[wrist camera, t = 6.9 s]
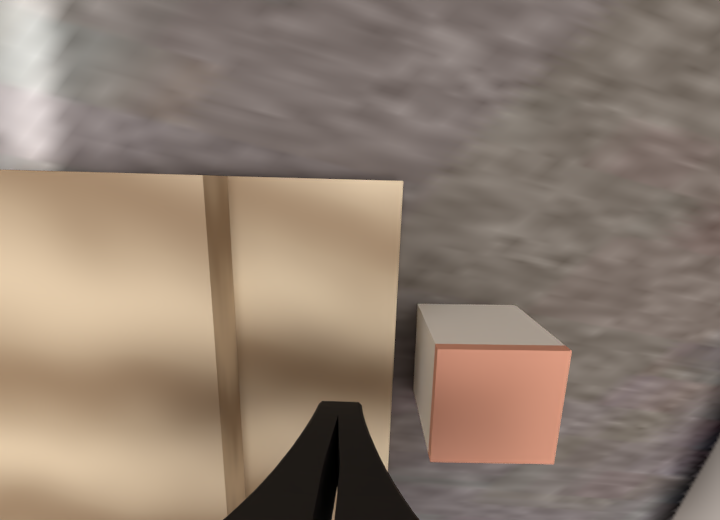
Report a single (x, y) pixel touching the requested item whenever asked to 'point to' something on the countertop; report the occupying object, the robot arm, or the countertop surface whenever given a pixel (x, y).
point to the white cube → (488, 384)
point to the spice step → (183, 334)
